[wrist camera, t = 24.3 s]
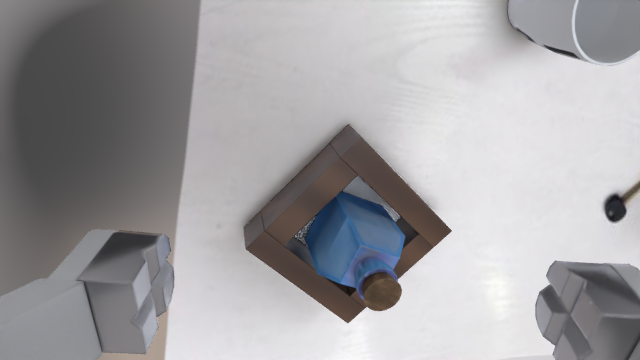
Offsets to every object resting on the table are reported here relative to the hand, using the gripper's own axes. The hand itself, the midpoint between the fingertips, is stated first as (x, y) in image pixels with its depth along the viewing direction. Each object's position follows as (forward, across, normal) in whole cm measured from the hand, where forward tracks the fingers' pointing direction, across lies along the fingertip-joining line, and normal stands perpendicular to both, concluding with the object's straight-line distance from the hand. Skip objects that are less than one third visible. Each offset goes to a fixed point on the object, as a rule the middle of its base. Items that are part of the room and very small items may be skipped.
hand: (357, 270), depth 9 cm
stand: (+30, -2, +19) cm, 36 cm away
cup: (+36, -17, -2) cm, 40 cm away
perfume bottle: (+30, -2, +19) cm, 36 cm away
